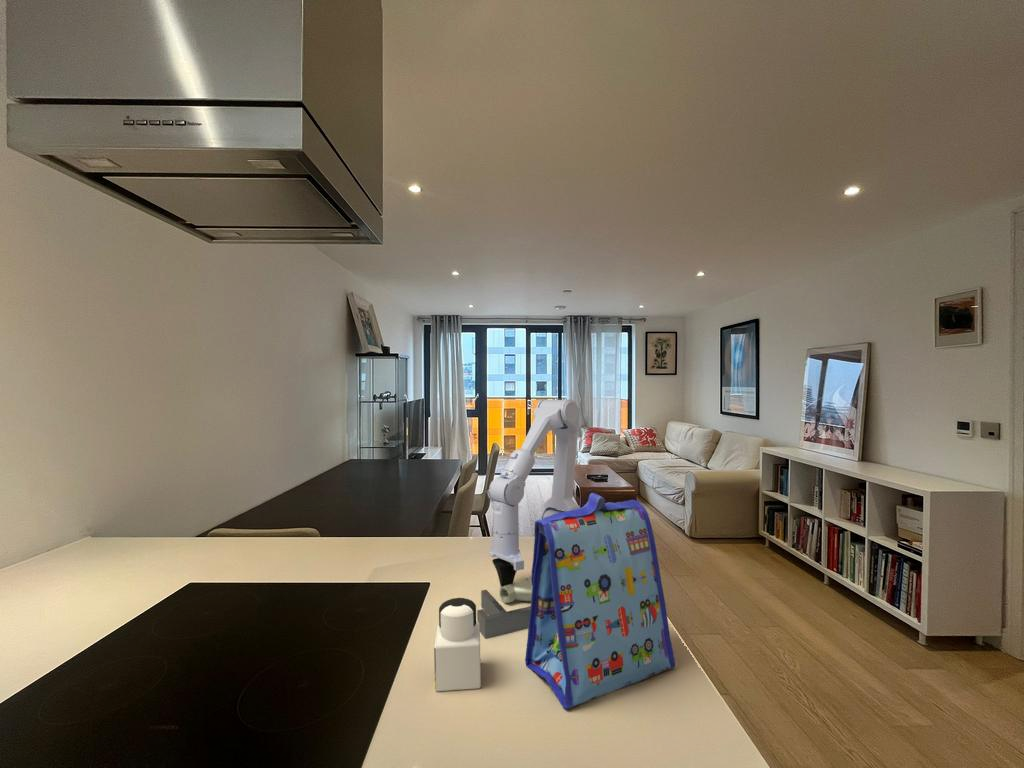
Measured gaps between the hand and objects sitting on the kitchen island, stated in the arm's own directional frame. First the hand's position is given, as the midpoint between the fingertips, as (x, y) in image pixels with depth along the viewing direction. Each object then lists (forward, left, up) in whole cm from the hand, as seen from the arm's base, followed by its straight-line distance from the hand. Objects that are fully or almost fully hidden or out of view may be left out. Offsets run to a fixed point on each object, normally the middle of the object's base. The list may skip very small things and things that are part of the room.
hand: (506, 591), depth 104 cm
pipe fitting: (-2, +4, -1) cm, 5 cm away
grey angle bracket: (0, +8, -1) cm, 8 cm away
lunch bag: (-3, +31, -1) cm, 32 cm away
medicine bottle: (+19, +23, -1) cm, 30 cm away
